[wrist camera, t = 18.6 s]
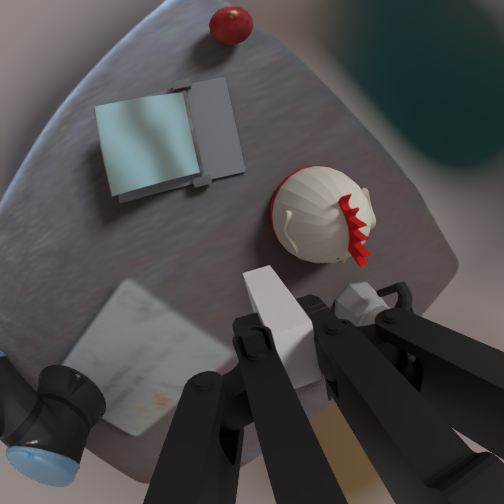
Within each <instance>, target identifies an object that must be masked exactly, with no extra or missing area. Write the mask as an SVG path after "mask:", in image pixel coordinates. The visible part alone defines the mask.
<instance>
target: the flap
mask: <svg viewBox="0 0 504 504" xmlns="http://www.w3.org/2000/svg"><path fill="white" fill-rule="evenodd" d="M94 113H95V120H96V126H97V131H98V137H99V142H100V147H101V152H102V157H103V162H104V167H105V171H106V176H107V180H108V184H109V189H110V193H111V197H112V196H116V195H119V194H122V193H125V192H129V191H132V190H136V189H139V188H142V187H146V186H150V185H153V184H157V183H160V182H164V181H168V180H172V179H175V178H179V177H183V176H187V175H191V174H195V173H197V174H202V173H204V170H203V166H202V161H201V157H200V152H199V148H198V143H197V139H196V134H195V129H194V125H193V120H192V115H191V110H190V106H189V101H188V96H187V91H182V92H180V93H173V94H165V95H157V96H150V97H144V98H137V99H131V100H126V101H120V102H115V103H110V104H105V105H100V106H96V107H94Z"/></svg>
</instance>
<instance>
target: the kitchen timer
mask: <svg viewBox="0 0 504 504" xmlns="http://www.w3.org/2000/svg"><path fill="white" fill-rule="evenodd" d="M270 219H271V227H272V229H273V231H274V234H275V236H276V238H277V240H278V241H279V242H280V243H281V244H282V246H283V247H284V248H285V249H286V250H287V251H288V252H290V253H291V254H293V255H295V256H296V257H298V258H299V259H302V260H306V261H310V262H313V263H333V262H338V261H340V262H341V263H344V262H345V260H346V259H347V258H349V257H350V256H352V257H353V258H354V260H355V261H356V262H357V264H358V265H359V266H360V267H362V266H365V265H367V262H366V260H365V259H364V257H367V256H370V255H371V254H370V252H369V251H368V250H367V249H366V248H365V247H364V246H363V244H364V243H365V241H366V240H368V239H369V237H368V235H369V232H370V229H373V228H374V227H375V222H376V220H375V215H374V213H373V210H372V207H371V203H370V197H369V192H368V190H367V189H366V188H362V189H360V187H359V186H358V185H357V184H356V183H355V182H354V181H352V180H351V179H350V178H349V177H347V176H346V175H345V174H344V173H342V172H339V171H337V170H334V169H332V168H329V167H318V166H310V167H306V168H303V169H299V170H297V171H295V172H294V173H292V174H290V175H289V176H287V177H286V178H285V179H284V180H283V182H282V183H281V184H280V185H279V186H278V188H277V190H276V192H275V194H274V196H273V198H272V202H271V209H270Z"/></svg>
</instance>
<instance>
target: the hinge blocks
mask: <svg viewBox="0 0 504 504" xmlns="http://www.w3.org/2000/svg"><path fill="white" fill-rule="evenodd" d="M172 85H173V90H174V92H178V91H182V90H186V89H190V88H191V82H190V78H186V79H182V80H178V81H174V82H172ZM193 183H194V188H195V187H199V186H203V185H207V184H212V180H211V175H206V176H202V177H197V178H193Z"/></svg>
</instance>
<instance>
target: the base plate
mask: <svg viewBox="0 0 504 504" xmlns="http://www.w3.org/2000/svg"><path fill="white" fill-rule="evenodd" d="M182 91H187V96H188V101H189V106H190V110H191V115H192V120H193V125H194V129H195V134H196V139H197V143H198V148H199V152H200V157H201V161H202V166H203V170H204V173H202V174H197V173H195V174H191V175H187V176H183V177H179V178H175V179H172V180H168V181H164V182H160V183H157V184H153V185H150V186H146V187H142V188H139V189H136V190H132V191H129V192H125V193H122V194H119V195H118V198H119V202H120V204H122V203H125V202H128V201H132V200H135V199H139V198H142V197H146V196H149V195H153V194H156V193H160V192H164V191H167V190H171V189H175V188H179V187H183V186H187V185H190V184H194V183H193V178H197V177H202V176H206V175H211V179H215V178H219V177H224V176H228V175H233V174H237V173H242V172H246V170H245V166H244V161H243V156H242V152H241V147H240V143H239V138H238V133H237V129H236V124H235V120H234V115H233V111H232V106H231V102H230V97H229V93H228V88H227V84H226V79H225V77H221V78H216V79H211V80H206V81H201V82H196V83H192V84H191V88H190V89H186V90H182ZM182 91H178V92H174V90H173V88H171V89H167V90H163V91H160V92H156V93H152V94H149V95H145V96H142V97H139V98H144V97H150V96H157V95H165V94H173V93H180V92H182ZM135 99H137V98H135Z"/></svg>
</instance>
